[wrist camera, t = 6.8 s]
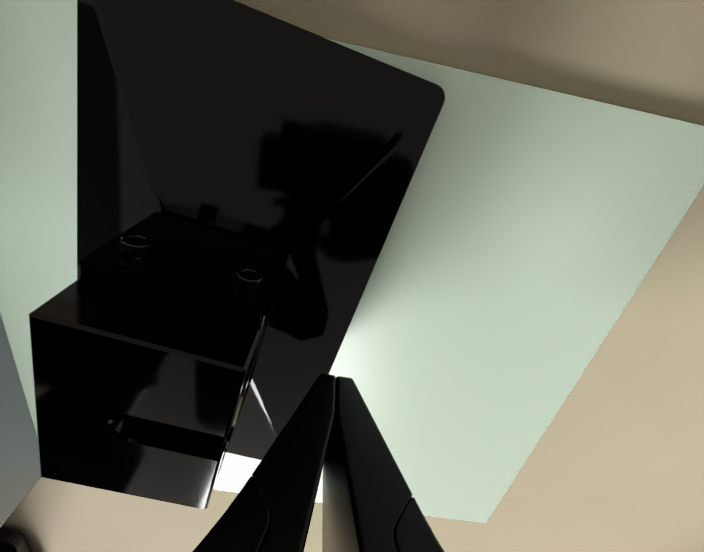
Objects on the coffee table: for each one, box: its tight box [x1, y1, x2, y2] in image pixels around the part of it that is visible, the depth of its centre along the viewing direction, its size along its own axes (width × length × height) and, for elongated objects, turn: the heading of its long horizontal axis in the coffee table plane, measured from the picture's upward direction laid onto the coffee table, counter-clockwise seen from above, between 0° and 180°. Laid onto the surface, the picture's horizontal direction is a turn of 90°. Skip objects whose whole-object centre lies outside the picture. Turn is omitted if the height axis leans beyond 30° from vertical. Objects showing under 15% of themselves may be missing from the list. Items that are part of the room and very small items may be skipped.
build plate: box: [29, 0, 445, 509], centre depth 8 cm, size 12×7×5 cm, turn 161°
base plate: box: [0, 0, 704, 528], centre depth 9 cm, size 18×15×3 cm
